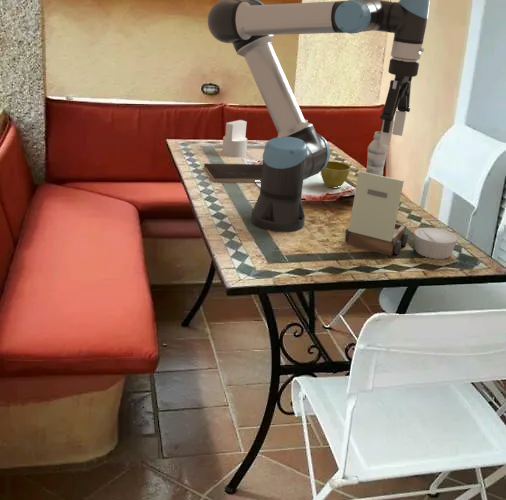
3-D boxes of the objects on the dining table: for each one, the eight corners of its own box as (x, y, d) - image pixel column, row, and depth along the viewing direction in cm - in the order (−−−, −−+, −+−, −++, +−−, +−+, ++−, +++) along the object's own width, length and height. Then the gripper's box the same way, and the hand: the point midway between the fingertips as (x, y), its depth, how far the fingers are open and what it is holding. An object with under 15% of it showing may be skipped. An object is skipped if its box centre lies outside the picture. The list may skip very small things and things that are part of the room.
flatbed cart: (358, 230, 199) (360, 214, 197) (407, 243, 193) (410, 226, 192) (341, 245, 188) (344, 227, 186) (393, 258, 182) (397, 240, 180)
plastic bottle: (381, 196, 230) (391, 136, 223) (360, 193, 231) (369, 133, 224) (381, 190, 236) (391, 132, 228) (361, 187, 237) (370, 129, 230)
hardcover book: (280, 184, 235) (281, 177, 234) (213, 184, 229) (213, 177, 228) (267, 170, 249) (268, 163, 248) (204, 169, 243) (204, 163, 242)
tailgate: (349, 230, 186) (360, 171, 181) (391, 240, 181) (403, 180, 176) (348, 231, 185) (358, 171, 180) (390, 241, 180) (402, 181, 175)
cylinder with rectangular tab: (231, 149, 269) (234, 118, 264) (250, 154, 264) (253, 123, 259) (217, 153, 262) (219, 121, 257) (236, 158, 257) (239, 126, 252)
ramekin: (403, 250, 189) (406, 232, 186) (425, 241, 196) (429, 224, 194) (439, 265, 181) (443, 246, 179) (461, 255, 189) (465, 237, 187)
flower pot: (333, 192, 230) (336, 171, 227) (311, 183, 237) (314, 163, 234) (353, 188, 236) (356, 167, 233) (331, 179, 243) (334, 159, 240)
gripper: (408, 66, 170) (392, 151, 178) (429, 57, 191) (414, 133, 199) (378, 61, 172) (364, 145, 181) (402, 53, 194) (389, 128, 202)
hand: (390, 139), depth 190 cm, fingers open, 13 cm apart
